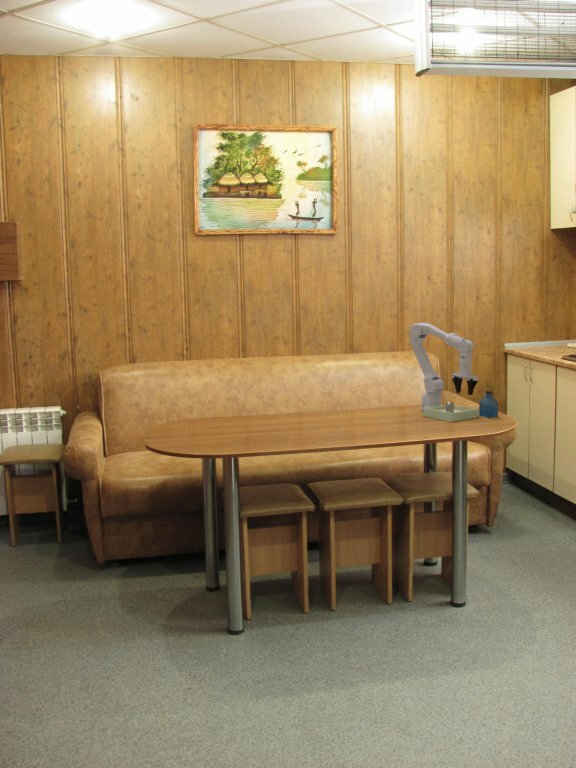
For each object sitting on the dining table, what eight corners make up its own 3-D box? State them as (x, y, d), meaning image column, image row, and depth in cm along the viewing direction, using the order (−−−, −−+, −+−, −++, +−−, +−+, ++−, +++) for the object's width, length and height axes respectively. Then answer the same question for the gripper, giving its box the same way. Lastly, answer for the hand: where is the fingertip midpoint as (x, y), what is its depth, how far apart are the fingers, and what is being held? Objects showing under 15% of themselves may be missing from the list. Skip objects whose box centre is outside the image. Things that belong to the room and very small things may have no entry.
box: (423, 416, 381) (423, 407, 381) (449, 412, 392) (450, 403, 391) (451, 422, 367) (451, 413, 366) (478, 417, 377) (478, 409, 376)
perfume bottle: (478, 415, 382) (479, 390, 381) (489, 414, 385) (490, 389, 383) (487, 417, 377) (488, 392, 375) (497, 416, 379) (498, 391, 378)
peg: (444, 416, 380) (444, 402, 379) (450, 416, 381) (450, 401, 380) (448, 417, 377) (448, 403, 376) (455, 417, 378) (455, 402, 377)
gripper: (448, 364, 386) (447, 392, 388) (470, 367, 374) (469, 396, 376) (458, 363, 390) (457, 391, 392) (481, 366, 378) (480, 395, 380)
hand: (464, 393), depth 384 cm, fingers open, 7 cm apart
